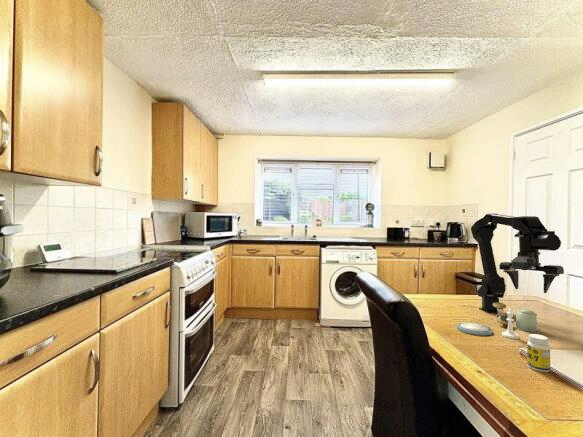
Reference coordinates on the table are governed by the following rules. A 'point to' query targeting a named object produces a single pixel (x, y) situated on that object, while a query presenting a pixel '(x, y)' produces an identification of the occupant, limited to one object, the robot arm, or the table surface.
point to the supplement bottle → (538, 353)
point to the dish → (474, 329)
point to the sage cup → (526, 320)
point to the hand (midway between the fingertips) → (530, 291)
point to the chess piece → (510, 327)
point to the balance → (501, 313)
